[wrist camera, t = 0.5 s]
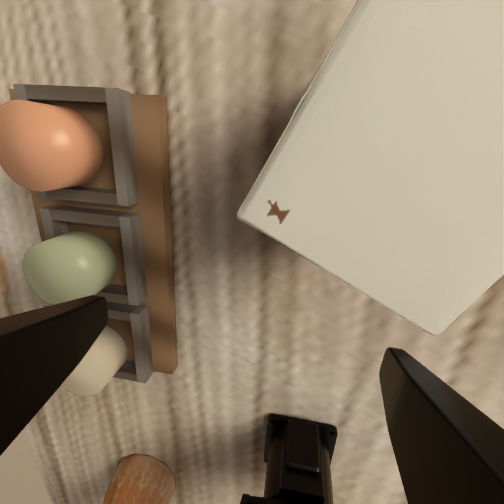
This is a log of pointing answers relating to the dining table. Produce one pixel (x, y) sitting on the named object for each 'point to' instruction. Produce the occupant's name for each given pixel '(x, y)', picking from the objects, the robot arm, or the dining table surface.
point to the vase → (140, 482)
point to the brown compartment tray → (123, 216)
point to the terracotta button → (48, 146)
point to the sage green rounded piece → (69, 266)
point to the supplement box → (398, 159)
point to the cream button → (98, 364)
